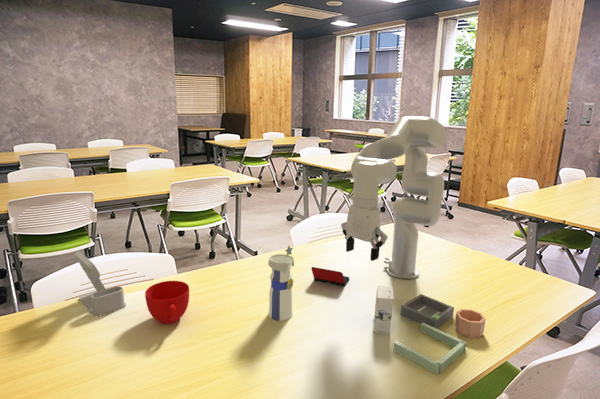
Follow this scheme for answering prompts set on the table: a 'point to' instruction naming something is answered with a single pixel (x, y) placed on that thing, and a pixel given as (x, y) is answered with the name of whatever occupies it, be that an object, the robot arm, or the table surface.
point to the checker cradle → (427, 311)
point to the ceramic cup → (167, 301)
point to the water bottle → (281, 286)
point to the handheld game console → (329, 276)
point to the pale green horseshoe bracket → (427, 362)
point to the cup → (469, 323)
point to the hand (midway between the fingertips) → (361, 255)
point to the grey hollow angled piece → (99, 291)
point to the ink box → (383, 309)
